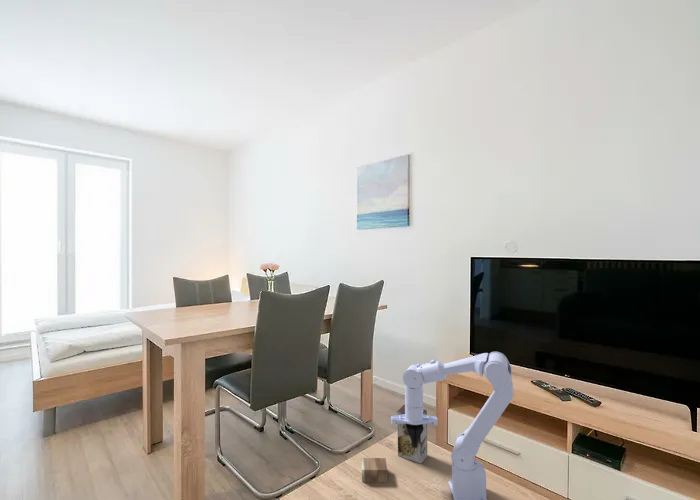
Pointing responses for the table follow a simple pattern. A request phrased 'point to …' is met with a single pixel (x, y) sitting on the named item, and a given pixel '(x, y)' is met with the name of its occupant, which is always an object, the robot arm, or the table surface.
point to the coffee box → (406, 444)
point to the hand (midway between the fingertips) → (414, 445)
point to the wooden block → (374, 470)
